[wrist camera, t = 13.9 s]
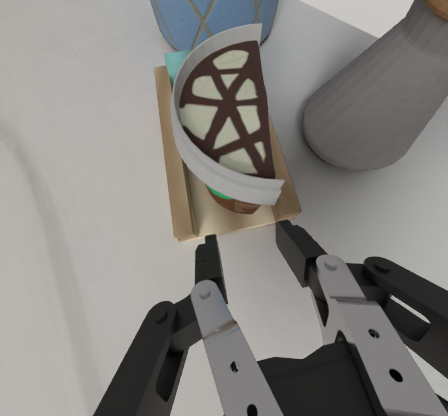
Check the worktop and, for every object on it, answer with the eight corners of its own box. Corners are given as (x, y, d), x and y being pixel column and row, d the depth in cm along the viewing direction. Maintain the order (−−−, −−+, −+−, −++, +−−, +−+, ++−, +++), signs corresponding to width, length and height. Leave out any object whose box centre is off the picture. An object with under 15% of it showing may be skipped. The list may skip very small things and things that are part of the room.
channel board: (246, 84, 25) (252, 40, 20) (289, 220, 19) (312, 206, 14) (162, 98, 24) (145, 56, 19) (181, 242, 18) (164, 236, 13)
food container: (194, 129, 21) (168, 20, 11) (245, 127, 21) (261, 17, 11) (192, 230, 18) (152, 196, 8) (253, 228, 18) (286, 191, 8)
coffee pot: (330, 197, 20) (611, 32, 5) (276, 123, 23) (364, -111, 8) (466, 126, 22) (904, -116, 8) (402, 68, 25) (635, -186, 11)
